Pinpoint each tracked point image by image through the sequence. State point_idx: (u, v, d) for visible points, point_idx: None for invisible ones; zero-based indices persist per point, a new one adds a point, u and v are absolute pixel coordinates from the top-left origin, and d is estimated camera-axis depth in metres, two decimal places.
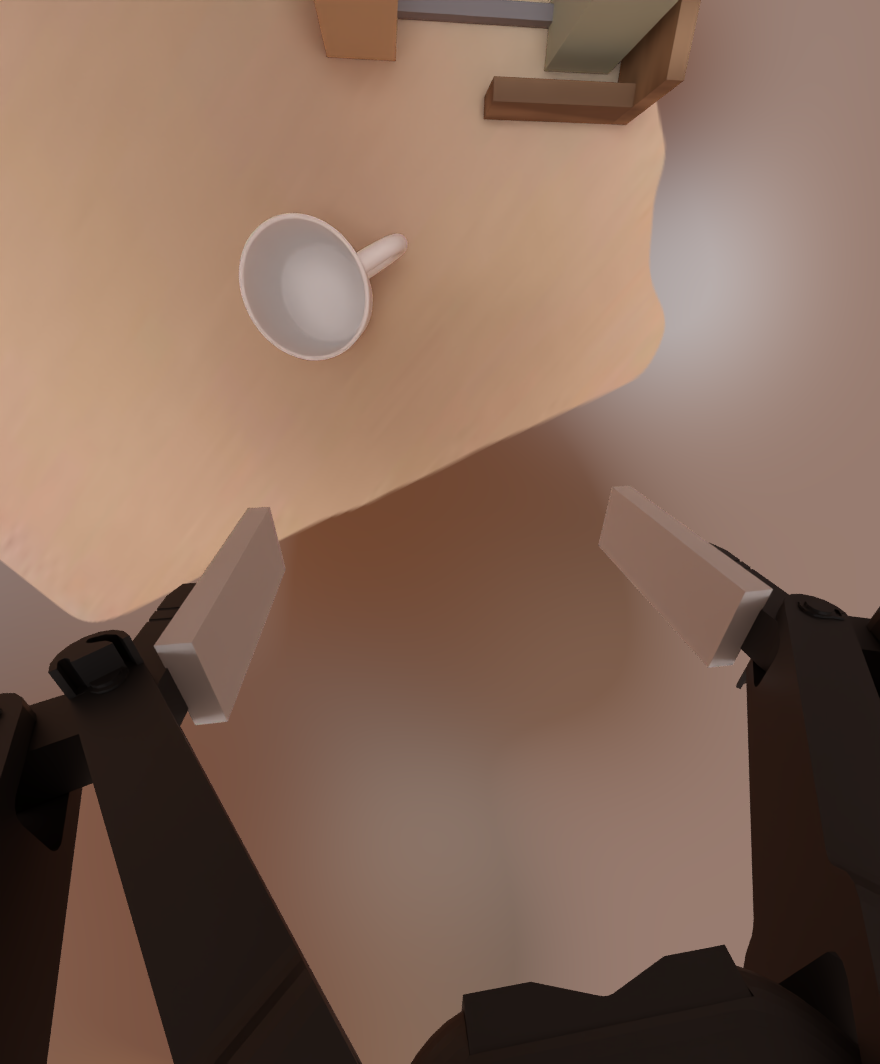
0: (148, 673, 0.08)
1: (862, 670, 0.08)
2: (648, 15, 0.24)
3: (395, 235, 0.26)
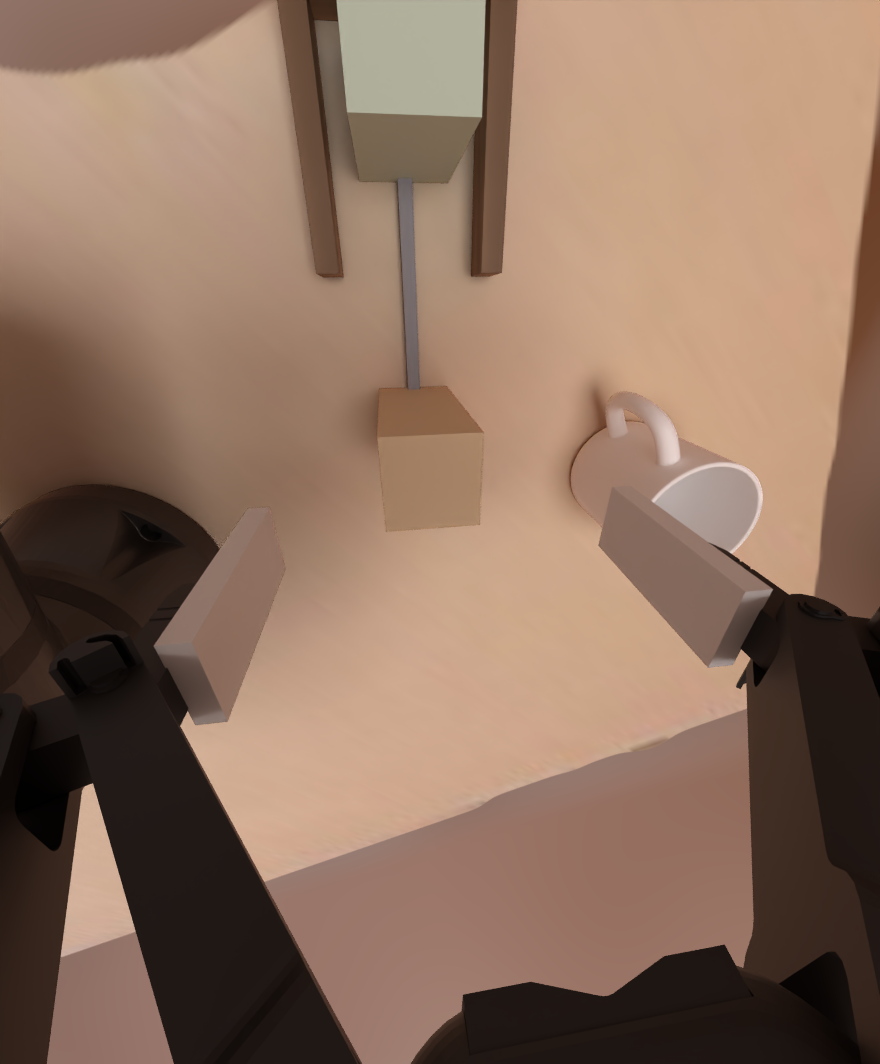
0: (148, 673, 0.08)
1: (862, 670, 0.08)
2: None
3: (653, 419, 0.23)
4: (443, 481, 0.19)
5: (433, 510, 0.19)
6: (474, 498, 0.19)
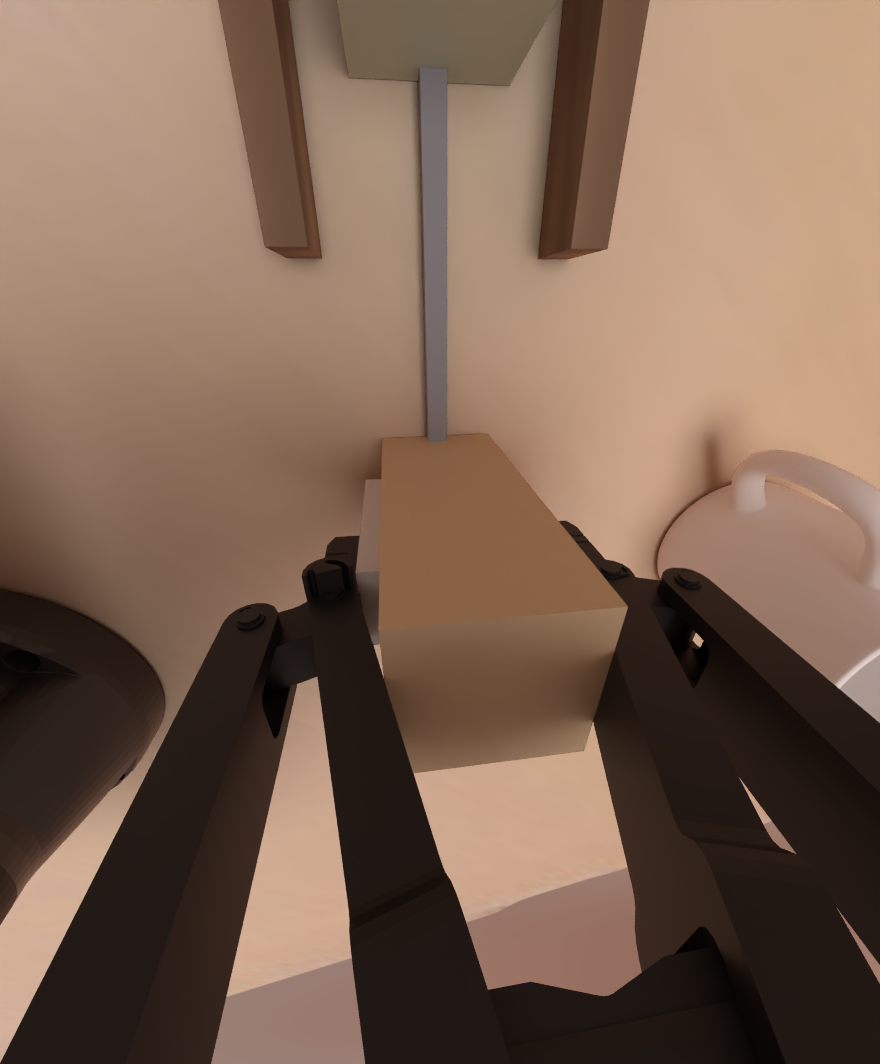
0: (357, 599, 0.10)
1: (651, 618, 0.09)
2: None
3: (876, 515, 0.13)
4: (524, 694, 0.08)
5: (494, 738, 0.09)
6: (581, 714, 0.09)
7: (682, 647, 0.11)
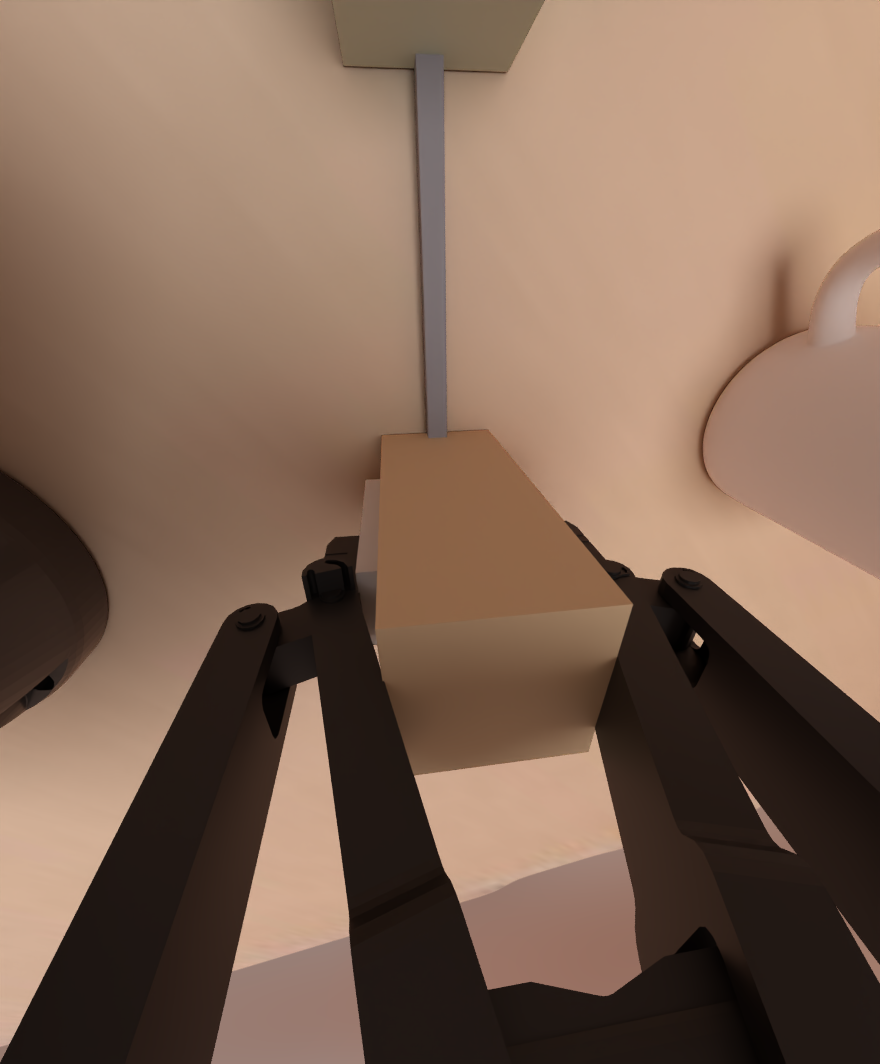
0: (357, 599, 0.10)
1: (652, 618, 0.09)
2: None
3: None
4: (525, 695, 0.08)
5: (496, 739, 0.09)
6: (586, 715, 0.09)
7: (682, 647, 0.11)
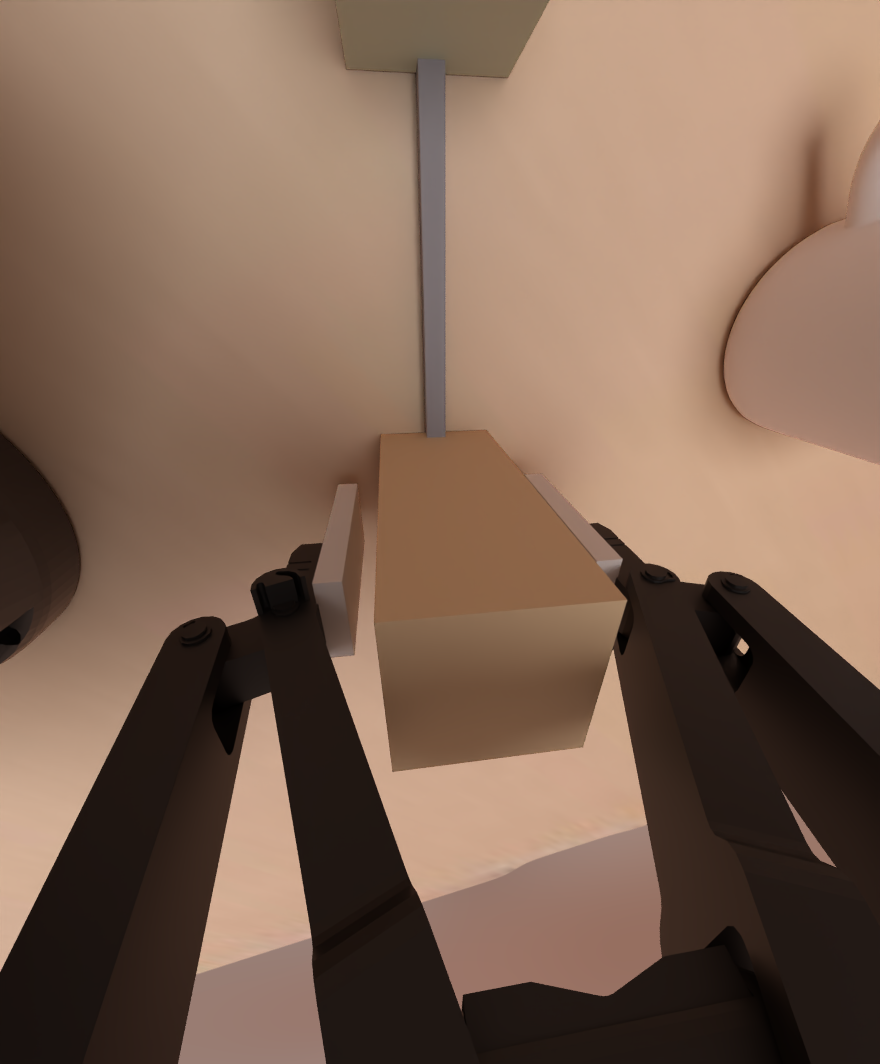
0: (312, 609, 0.09)
1: (696, 625, 0.09)
2: None
3: None
4: (521, 689, 0.08)
5: (492, 734, 0.09)
6: (580, 710, 0.09)
7: (725, 653, 0.10)
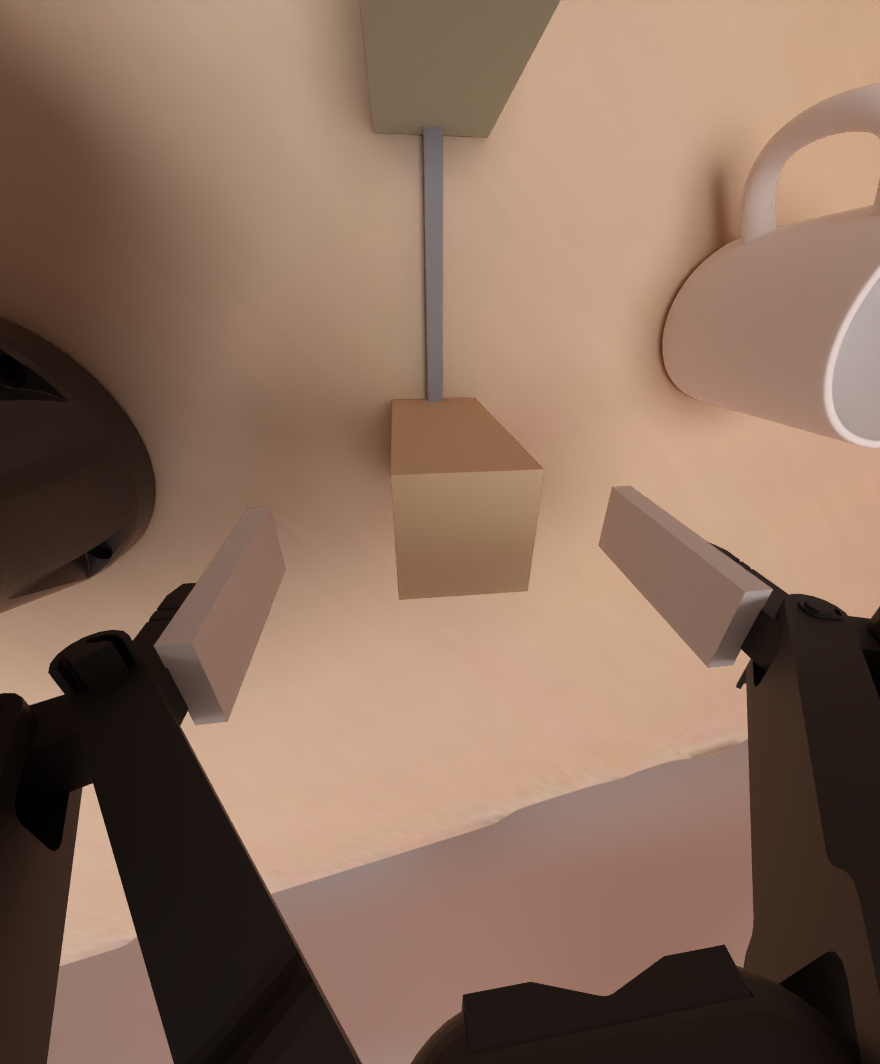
0: (148, 673, 0.08)
1: (862, 670, 0.08)
2: None
3: None
4: (482, 535, 0.13)
5: (465, 572, 0.14)
6: (522, 557, 0.14)
7: None
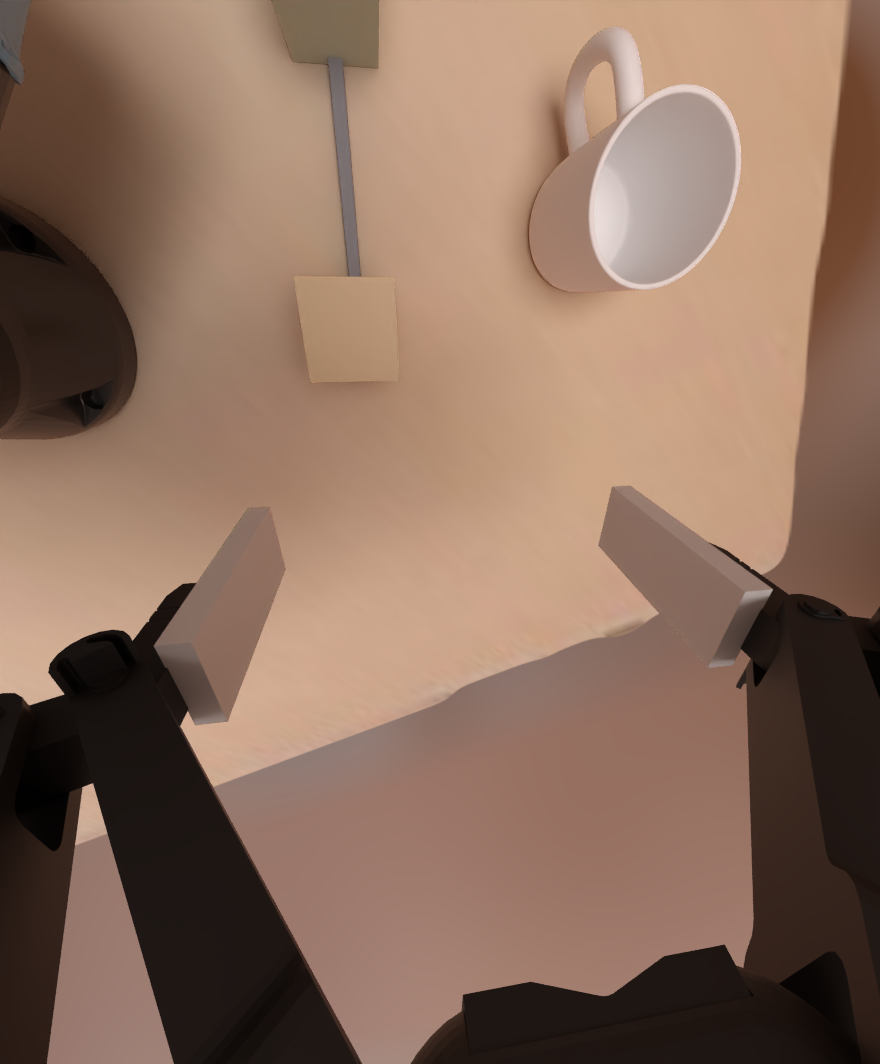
0: (148, 673, 0.08)
1: (862, 670, 0.08)
2: None
3: (611, 38, 0.19)
4: (361, 330, 0.20)
5: (353, 361, 0.21)
6: (391, 350, 0.21)
7: None
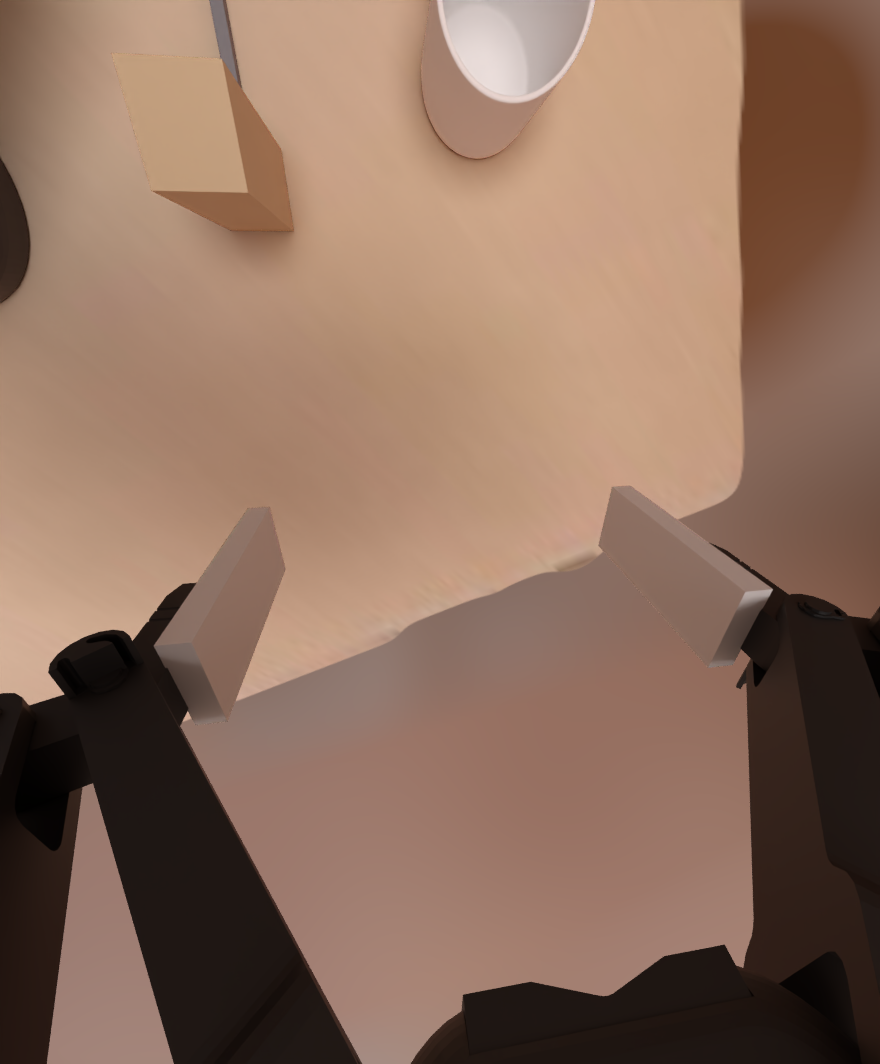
0: (148, 673, 0.08)
1: (862, 670, 0.08)
2: None
3: None
4: (195, 125, 0.19)
5: (194, 165, 0.20)
6: (233, 153, 0.20)
7: None
